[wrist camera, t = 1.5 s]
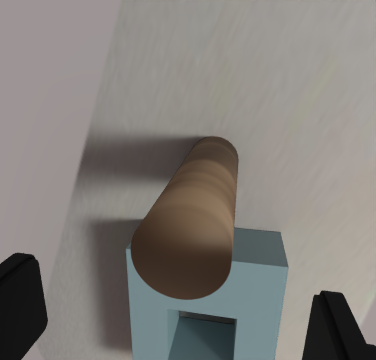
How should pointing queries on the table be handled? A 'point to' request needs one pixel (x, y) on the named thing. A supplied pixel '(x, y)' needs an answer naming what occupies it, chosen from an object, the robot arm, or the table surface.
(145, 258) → the peg
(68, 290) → the table surface
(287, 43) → the table surface
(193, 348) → the socket block
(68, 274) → the table surface
